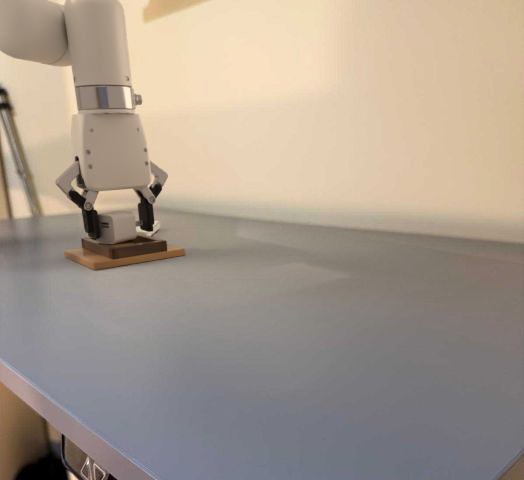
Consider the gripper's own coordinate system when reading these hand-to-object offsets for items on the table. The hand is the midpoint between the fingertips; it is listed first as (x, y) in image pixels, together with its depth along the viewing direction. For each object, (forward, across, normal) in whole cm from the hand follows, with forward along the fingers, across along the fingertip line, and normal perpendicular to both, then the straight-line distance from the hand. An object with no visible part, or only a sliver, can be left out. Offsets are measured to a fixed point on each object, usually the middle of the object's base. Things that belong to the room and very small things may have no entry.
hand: (121, 233), depth 80 cm
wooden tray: (+3, 0, 0) cm, 3 cm away
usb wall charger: (+1, 0, 0) cm, 1 cm away
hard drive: (+4, -9, -17) cm, 20 cm away
